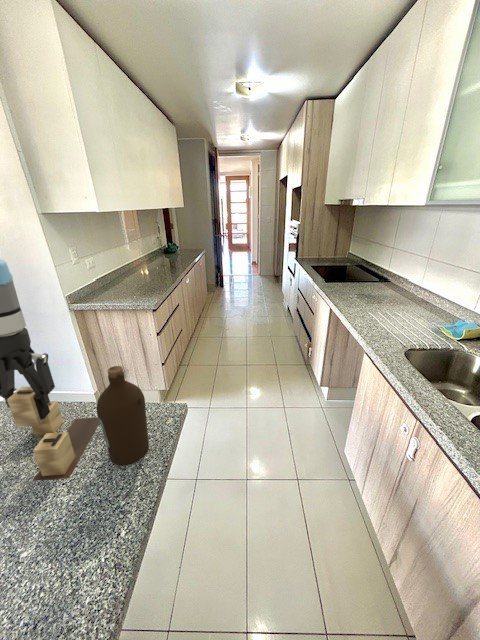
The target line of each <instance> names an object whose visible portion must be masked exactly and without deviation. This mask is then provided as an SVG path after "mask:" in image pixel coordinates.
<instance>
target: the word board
mask: <svg viewBox="0 0 480 640" xmlns="http://www.w3.org/2000/svg"><path fill="white" fill-rule="evenodd" d="M99 426H100V422H99V418H98V416H97V417H83V418H75V419H74V420H73V422H72V423H71V424H70V426H69V427H68V429H67V430H66V432H68V433H69V437H70V440H71V444H72V447H73V451H74V454H75V458H74V459H73V461H72V463H71V465H70V466H69V468H68V470H67V471H66V473H65V474H63V475H49V476H42V474H41V471H40V470H39V471H38V472H37V474H36V475H35V477H34V478H33V480H32V481H35V482H37V481H48V480H49V481H50V480H62V479H70V478H71V476H72V475H73V472H74V471H75V469H76V468H77V465H78V463H79V462H80V460H81V458H82V457H83V455H84V453H85V451H86V450H87V448H88V446H89V444H90V442H91V440H92V438H93V436H94V435H95V434H96V431H97V430H98V428H99Z"/></svg>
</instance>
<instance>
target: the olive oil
mask: <svg viewBox="0 0 480 640" xmlns="http://www.w3.org/2000/svg"><path fill="white" fill-rule="evenodd" d="M107 378H108V382H109V384H108V386H107V387H106V388H105V389H104V390H103V391H102V392H101V394H100V395H99V397H98V399H97V403H96V415H97V417H98V418H99V422H100V424H99V426H100V427H101V431H102V434H103V439H104V440H105V443H106V448H107V451H108V454H109V455H108V456H109V459H110V461H111V462H112V463H113V464H114V465H115V466H119V467H126V466H131V465H134V464H136V463H138V462H139V461H140V460H142V459H143V458H144V457H145V456H146V455H148V452H149V449H150V444H149V434H148V433H149V432H148V423H147V409H146V399H145V395H144V392H143V390H142V389H141V388H140V387H139V386H138V385H136V384H134V383H132V382H130V381H128V380H126V378H125V372H124V368H123V366H121V365H114V366H111V367H109V368H108V369H107Z"/></svg>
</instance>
